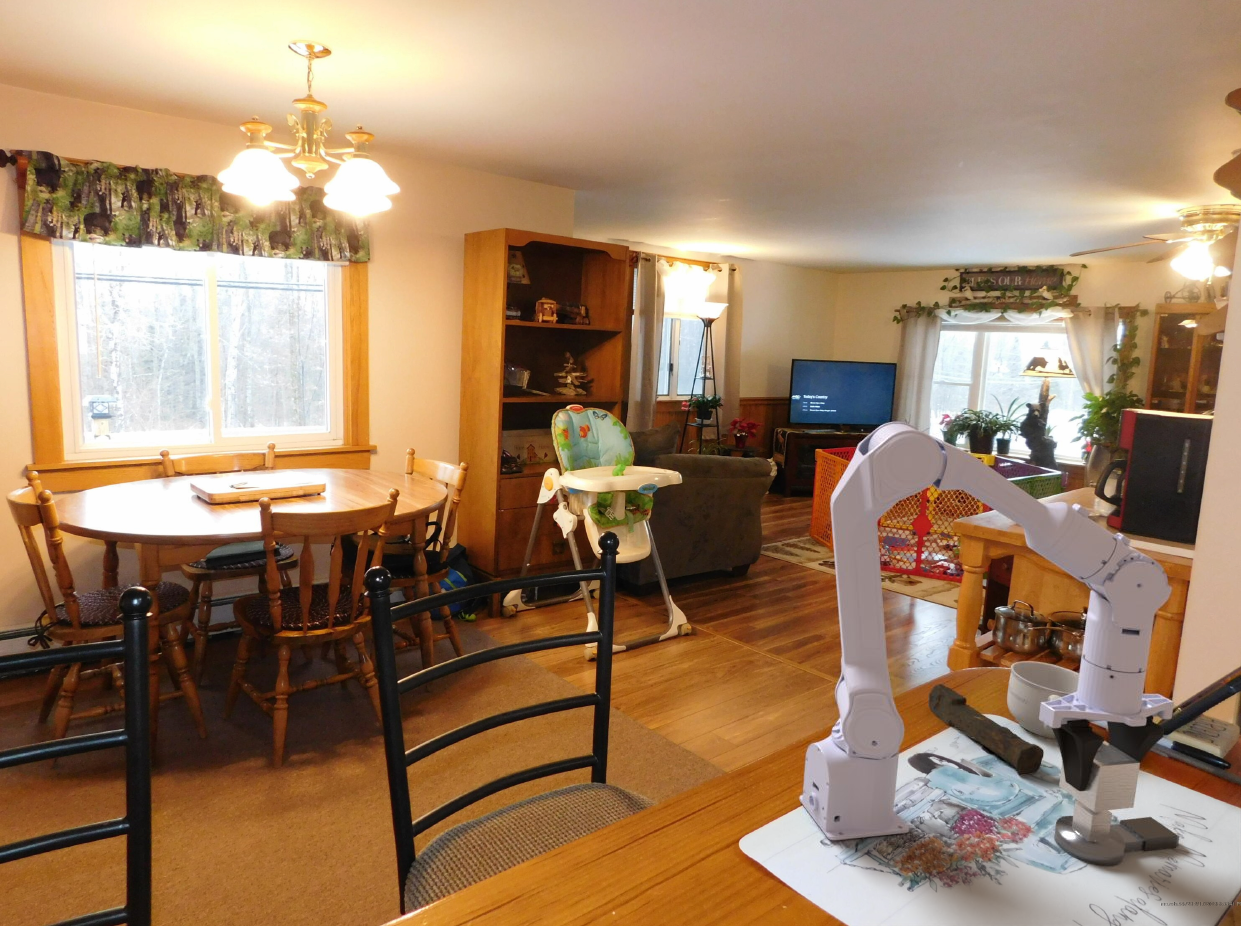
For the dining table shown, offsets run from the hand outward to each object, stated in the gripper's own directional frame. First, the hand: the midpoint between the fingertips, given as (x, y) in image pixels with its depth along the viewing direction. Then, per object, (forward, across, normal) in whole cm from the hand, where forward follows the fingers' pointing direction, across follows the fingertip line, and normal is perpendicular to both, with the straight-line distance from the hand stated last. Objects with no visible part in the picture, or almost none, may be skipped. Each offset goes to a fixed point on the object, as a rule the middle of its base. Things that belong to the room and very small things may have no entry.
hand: (1096, 783), depth 84 cm
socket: (+1, 0, 0) cm, 1 cm away
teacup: (+8, +14, +23) cm, 28 cm away
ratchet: (+7, +3, 0) cm, 8 cm away
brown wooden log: (+8, +2, +23) cm, 24 cm away
